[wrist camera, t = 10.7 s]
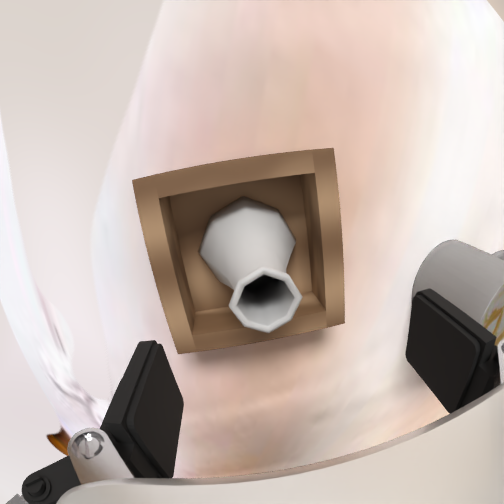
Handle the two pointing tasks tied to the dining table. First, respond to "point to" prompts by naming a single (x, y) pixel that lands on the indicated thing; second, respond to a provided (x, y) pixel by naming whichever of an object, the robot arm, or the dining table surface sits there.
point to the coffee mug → (467, 282)
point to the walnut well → (194, 225)
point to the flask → (253, 262)
